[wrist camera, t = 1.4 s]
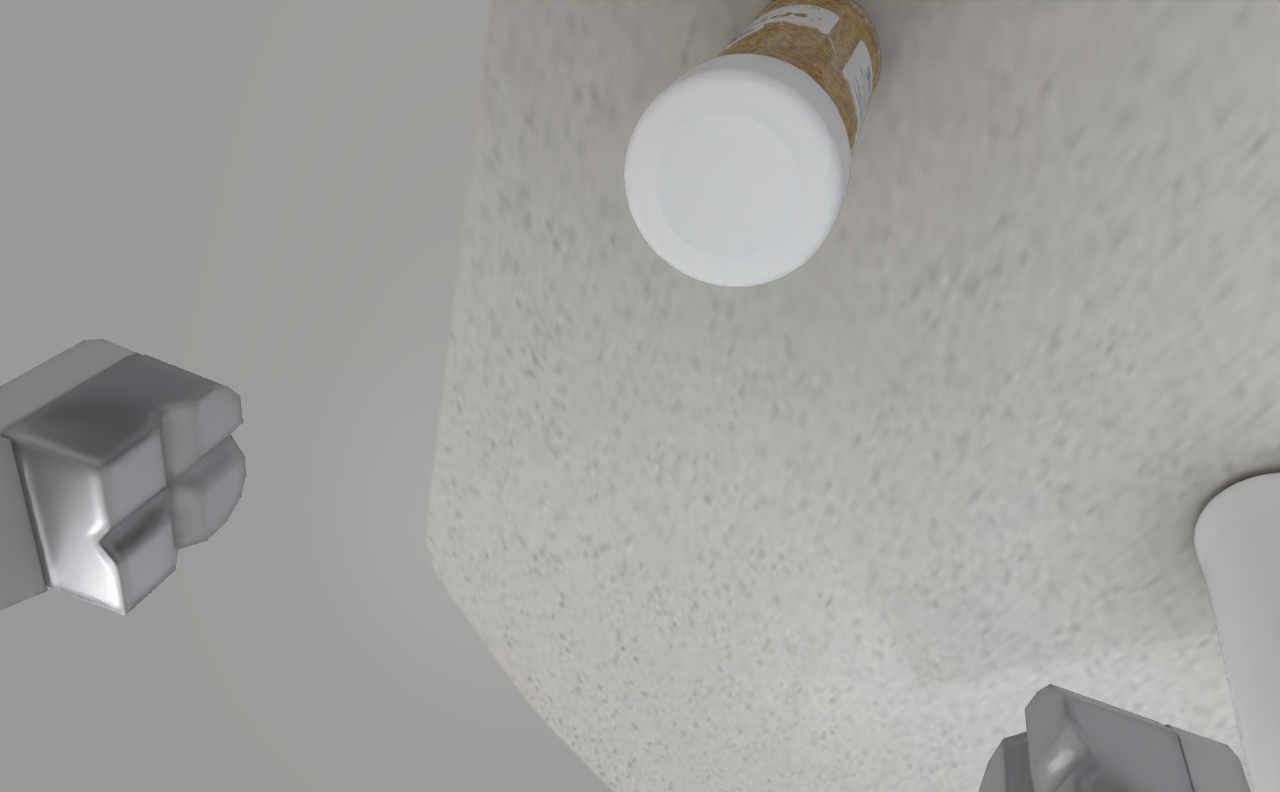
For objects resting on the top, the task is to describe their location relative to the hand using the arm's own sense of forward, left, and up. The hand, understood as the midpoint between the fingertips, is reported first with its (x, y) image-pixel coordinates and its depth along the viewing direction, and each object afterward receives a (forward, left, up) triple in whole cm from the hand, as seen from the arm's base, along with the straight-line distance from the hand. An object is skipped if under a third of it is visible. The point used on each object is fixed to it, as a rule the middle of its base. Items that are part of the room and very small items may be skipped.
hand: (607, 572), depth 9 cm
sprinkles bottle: (-1, 0, -25) cm, 25 cm away
